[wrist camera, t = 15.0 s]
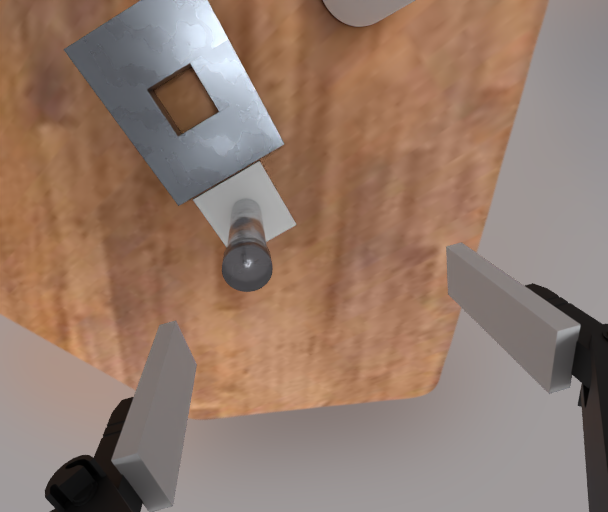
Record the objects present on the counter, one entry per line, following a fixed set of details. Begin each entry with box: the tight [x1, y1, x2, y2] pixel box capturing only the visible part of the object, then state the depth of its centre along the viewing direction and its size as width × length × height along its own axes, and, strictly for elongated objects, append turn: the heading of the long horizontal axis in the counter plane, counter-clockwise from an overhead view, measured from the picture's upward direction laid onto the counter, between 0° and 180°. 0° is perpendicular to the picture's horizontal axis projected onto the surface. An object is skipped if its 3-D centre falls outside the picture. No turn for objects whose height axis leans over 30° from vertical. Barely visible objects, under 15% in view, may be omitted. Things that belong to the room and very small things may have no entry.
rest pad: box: [193, 161, 296, 247], centre depth 38 cm, size 8×8×1 cm
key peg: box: [222, 199, 272, 292], centre depth 32 cm, size 4×4×14 cm
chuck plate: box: [64, 0, 284, 206], centre depth 32 cm, size 15×12×2 cm
